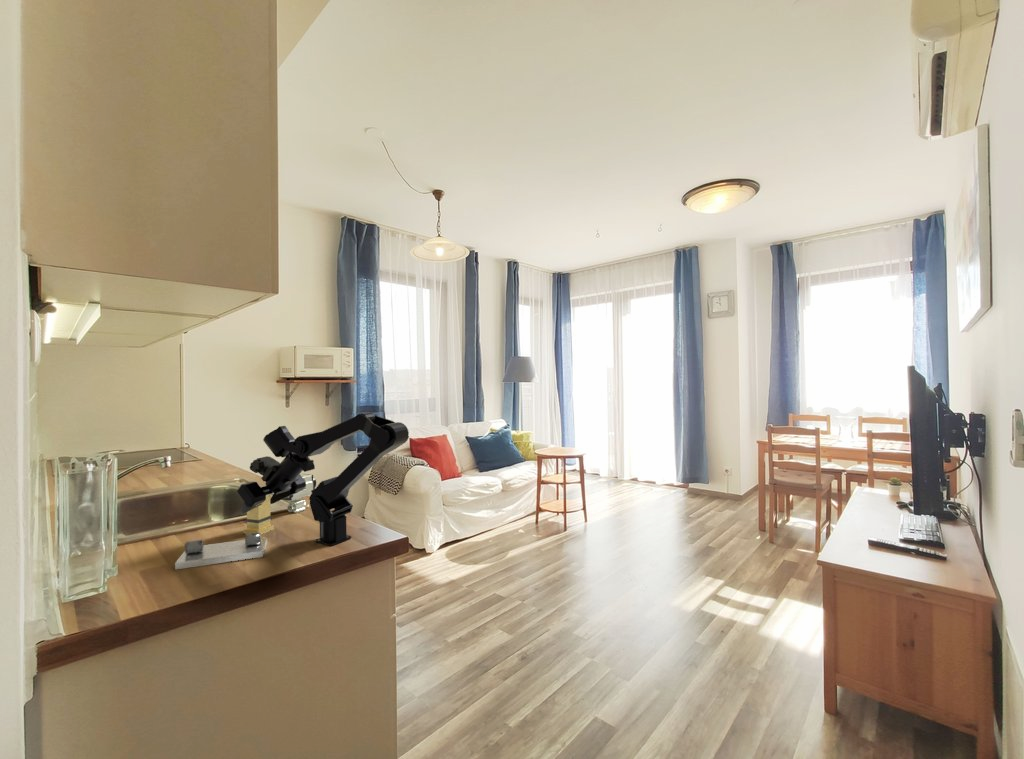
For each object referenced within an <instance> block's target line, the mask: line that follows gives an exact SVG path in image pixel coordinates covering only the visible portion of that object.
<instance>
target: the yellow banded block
mask: <svg viewBox="0 0 1024 759" xmlns="http://www.w3.org/2000/svg"><path fill="white" fill-rule="evenodd" d="M270 499H271V494H270V495H267V496H266V500H265V501H264V502H263V503H261V504H262V505H260V506H258V507H256V508H254V509H252V510H250V511H248V512H246V521H245V522H246V527H245V528H243V533H245V535H246V534H253V533H261V535H263V533H264V534H266V533H268V532H271V531H273V530H275V524H271V519H272V516H271V504H270ZM270 530H271V531H270Z"/></svg>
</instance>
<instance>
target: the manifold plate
mask: <svg viewBox="0 0 1024 759" xmlns="http://www.w3.org/2000/svg"><path fill="white" fill-rule="evenodd" d="M204 542H205V541H204V539H199V540H198V539H197V540H191V541H189V540H188V541H186V543H185V545H184V546H185V547H184V551H183V553H182V554H181V555H180V556H179V557H178V559H177V560H176V561H175V564H174V568H175V570H182V569H188V568H195V567H203V566H210V565H215V564H216V565H217V564H223V563H231V561H232V562H237V561H238V560H239V561H245V559H246V560H252V558H253V559H259V558H263V557H264V554H265V550H266V548H267V545H268V536H263V537H262V534H261V533H253V534H245V539H242V540H241V539H240V540H234V541H225V542H218V543H210V544H204Z"/></svg>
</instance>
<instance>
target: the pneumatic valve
mask: <svg viewBox="0 0 1024 759" xmlns="http://www.w3.org/2000/svg"><path fill="white" fill-rule="evenodd" d="M300 475H301V476H302V478H303V479H304V480H305V481H306V487H305V488H304V489H303V490H302V491H299V492H298V493H296V494H293V495H291V496H289V497H286V498H284V499H282V500H283V501H288V503H287V504H288V505H287V506H286V507H287V508H286V509H287V511H288V512H289V513H295V514H297V513H301V512H304V511H305V510H306V505H307V502H306V499H304V497H307V496H310V495H311V494H312V493H313V492H311V491H312V490H314V489H315V488H316V487H317V479H316V478H315V477H314V474H309V473H307V474H306V473H300ZM282 500H281V501H282ZM303 510H304V511H303Z"/></svg>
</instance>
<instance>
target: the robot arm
mask: <svg viewBox="0 0 1024 759" xmlns="http://www.w3.org/2000/svg"><path fill="white" fill-rule="evenodd" d="M360 432H363V433H364V435H366V437H368V438H369V442H368V443H369V444H368V445H367V447H366V448H364V449H363V451H362V452H361V453H359V455H357V457H356V458H355V459H353V461H352V462H351V463H350V464H349V465H347V467H345V469H343V470H342V472H341V473H339V474H338V475H337V476H334V477H331V478H328V479H325V480H324V479H323V480H322V481H320V482H319V483H318V485H316V487H315V489H314V490H312V491H311V492H313V493H312V494H311V495H309V498H308V500H309V505H310V511H311V512H312V516H313V520H314V521H316V522H318V523H319V538H315V539H314V542H316V543H319V544H324V545H327V546H335V545H337V544H339V543H342V542H345V541H348V540H350V539H351V538H352V535H350V534H349V535H348V534H347V532H348V531H347V514H350V513H352V509H353V507H354V506H353V504H352V502H351V501H350V500H349V499H348V498H347V497H348V495H349V492H350V489H351V488H352V487H353V486H354V485H355V484H356V483H357V482H358V481H360V479H361V478H362V477H363V476H364V475H365V474H366V473H368V471H370V469H371V468H373V467H374V466H375V464H376V463H378V462H379V461H380V460H381V459H382V458H383V456H386V455H387V454H389V453H391V452H392V451H394V450H396V449H397V448H399V447H401V446H403V445H404V444H405V443H406V442H407V441H408V440H409V437H410V436H409V433H410V432H409V429H408V427H407V426H406V424H404V423H403V422H399V421H398V422H397V421H396V422H395V421H393V420H391V419H388V418H385V417H382V416H379V415H376V414H375V413H373V412H363V413H358V414H356V415H355V416H353V417H350V418H348V419H347V420H344V421H341V422H340V423H338V424H335V425H333V426H331V427H328V428H326V429H323V430H322V431H318V432H314V433H308V434H304V435H299V436H297V437H296V438H295V437H294V436H293V435H292V434H291V432H290V431H289V428H287V426H286V425H281V426H278V427H277V428H276V429H274V430H272V431H271V432H269V433H268V434H266V435H265V436H264V437H263V439H262V441H263V443H264V444H265V445H266V446H267V448H268V449H269V450H270V451H271V452H272V454H273V455H274V456H275V457H276V458H280V457H281V458H283V459H282V461H281V462H280V461H278V460H276V459H275V458H273V457H271V456H262V457H259V458H256V459H253V461H252V462H250V466H249V470H250V471H251V472H253V473H255V474H259V475H261V478H260V479H261V480H262V481H263V482H265V486H262V487H261V486H260V484H258V482H257V481H250V482H246V483H242V484H240V485H239V487H238V488H237V489H236V492H237V494H238V496H240V497H241V499H242V500H243V503H242V506H241V510H240V511H241V513H242V514H243V515H244V514H247V512H248V511H250V510H252V509H254V508H256V507H258V506H260V505H262V504H261V503H263V502H264V501H265V500H266V496H267V495H270V505H273V504H275V503H277V502H279V501H282V499H284V498H286V497H289V496H291V495H293V494H296V493H298V492H299V491H302V490H303V489H304V488H305V487H306V481H305V480H304V479H303V478H302V476H301V475H300V474H302V472H310V471H313V470H315V463H314V460H313V459H310V457H312V456H318V455H321V454H323V453H324V452H326V451H327V450H329V449H330V448H331V447H332V446H333V445H334V444H335V443H337V442H339V441H342V440H344V439H346V438H348V437H349V438H350V437H351V436H353V435H356V434H358V433H360Z"/></svg>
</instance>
